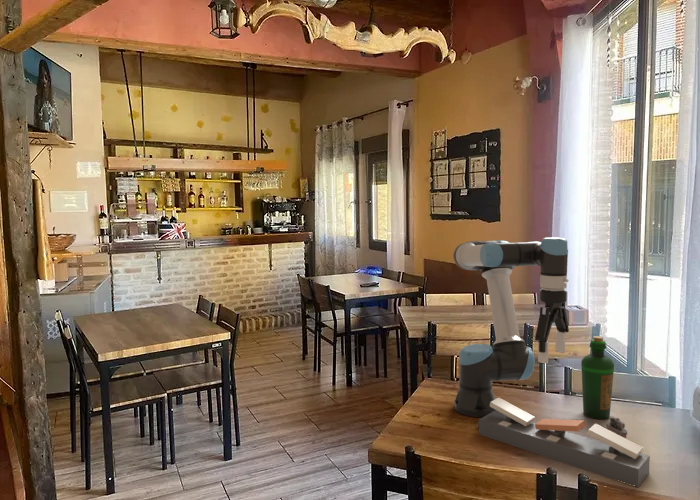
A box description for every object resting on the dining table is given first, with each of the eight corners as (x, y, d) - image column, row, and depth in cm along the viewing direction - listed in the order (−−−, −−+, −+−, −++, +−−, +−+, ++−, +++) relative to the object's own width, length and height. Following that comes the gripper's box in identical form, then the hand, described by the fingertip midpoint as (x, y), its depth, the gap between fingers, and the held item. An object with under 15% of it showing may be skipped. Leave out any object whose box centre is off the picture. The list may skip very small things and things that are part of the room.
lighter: (602, 445, 159) (603, 413, 158) (613, 444, 159) (614, 413, 158) (618, 457, 151) (619, 424, 150) (629, 457, 151) (630, 424, 150)
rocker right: (587, 434, 147) (588, 429, 147) (594, 428, 151) (595, 423, 150) (635, 459, 138) (637, 454, 138) (641, 452, 142) (643, 447, 142)
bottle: (617, 422, 175) (619, 341, 173) (583, 420, 178) (585, 340, 175) (608, 410, 186) (610, 334, 184) (576, 408, 188) (578, 333, 186)
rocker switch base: (470, 431, 170) (470, 412, 169) (486, 422, 177) (486, 403, 176) (637, 487, 135) (638, 462, 134) (649, 473, 142) (649, 449, 141)
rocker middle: (536, 429, 158) (534, 424, 158) (543, 424, 162) (542, 418, 162) (578, 431, 149) (576, 425, 149) (585, 425, 153) (584, 420, 153)
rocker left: (489, 406, 169) (490, 401, 168) (497, 401, 173) (498, 397, 172) (525, 426, 160) (527, 421, 160) (533, 421, 164) (534, 416, 164)
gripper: (549, 295, 144) (548, 369, 146) (580, 284, 162) (578, 350, 164) (523, 293, 149) (522, 364, 151) (556, 282, 167) (555, 346, 169)
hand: (551, 357), depth 158 cm, fingers open, 13 cm apart
